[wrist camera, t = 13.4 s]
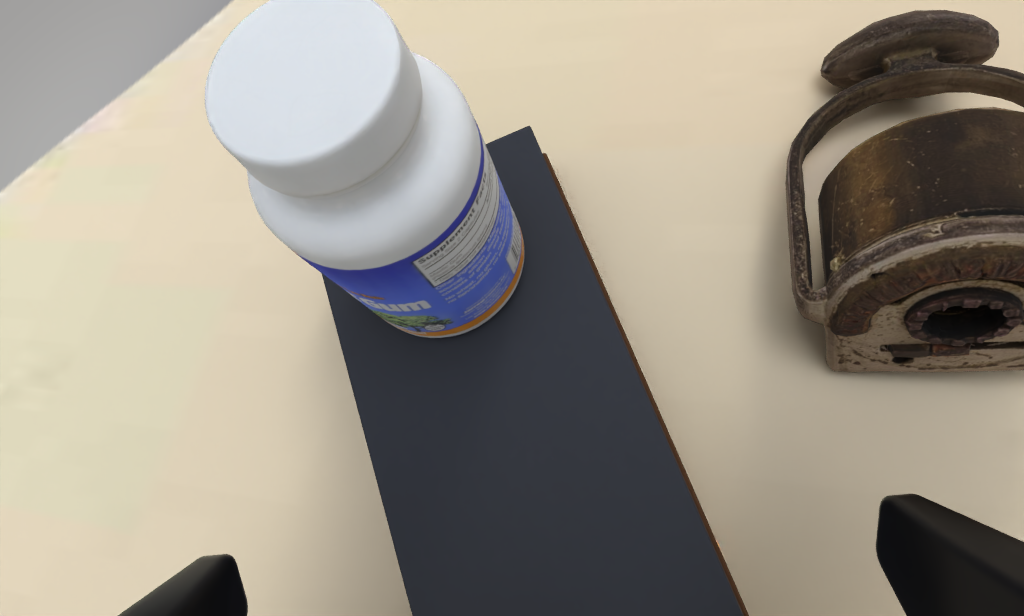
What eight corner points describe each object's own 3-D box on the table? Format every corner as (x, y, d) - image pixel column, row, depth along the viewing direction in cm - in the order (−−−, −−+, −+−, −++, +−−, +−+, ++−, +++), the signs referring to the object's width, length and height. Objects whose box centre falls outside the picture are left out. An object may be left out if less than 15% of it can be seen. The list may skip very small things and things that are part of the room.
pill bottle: (337, 290, 22) (110, 128, 13) (429, 161, 22) (278, -79, 13) (466, 374, 20) (311, 256, 11) (561, 231, 21) (491, 9, 12)
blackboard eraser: (762, 651, 19) (785, 680, 16) (482, 751, 20) (448, 798, 17) (549, 165, 26) (534, 111, 22) (342, 253, 26) (297, 214, 23)
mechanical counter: (674, 269, 18) (1154, 419, 13) (849, -127, 19) (1350, -136, 14) (716, 336, 24) (1049, 454, 19) (846, 34, 25) (1191, 69, 20)
